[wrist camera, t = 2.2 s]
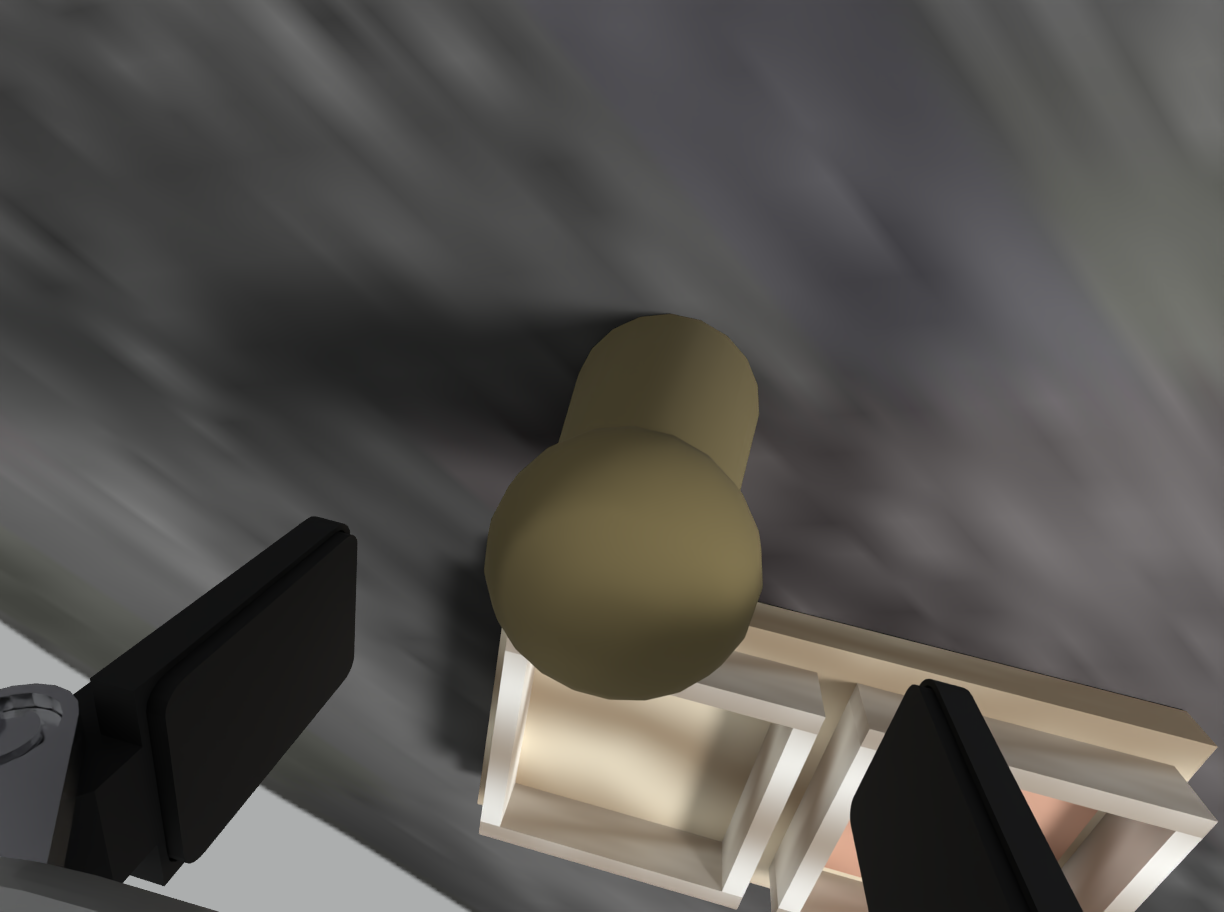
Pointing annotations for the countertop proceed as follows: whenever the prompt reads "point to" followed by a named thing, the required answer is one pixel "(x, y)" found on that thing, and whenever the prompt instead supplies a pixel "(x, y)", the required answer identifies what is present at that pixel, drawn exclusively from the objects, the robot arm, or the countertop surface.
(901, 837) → the robot arm
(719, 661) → the cork
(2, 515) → the countertop surface
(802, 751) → the spice holder
